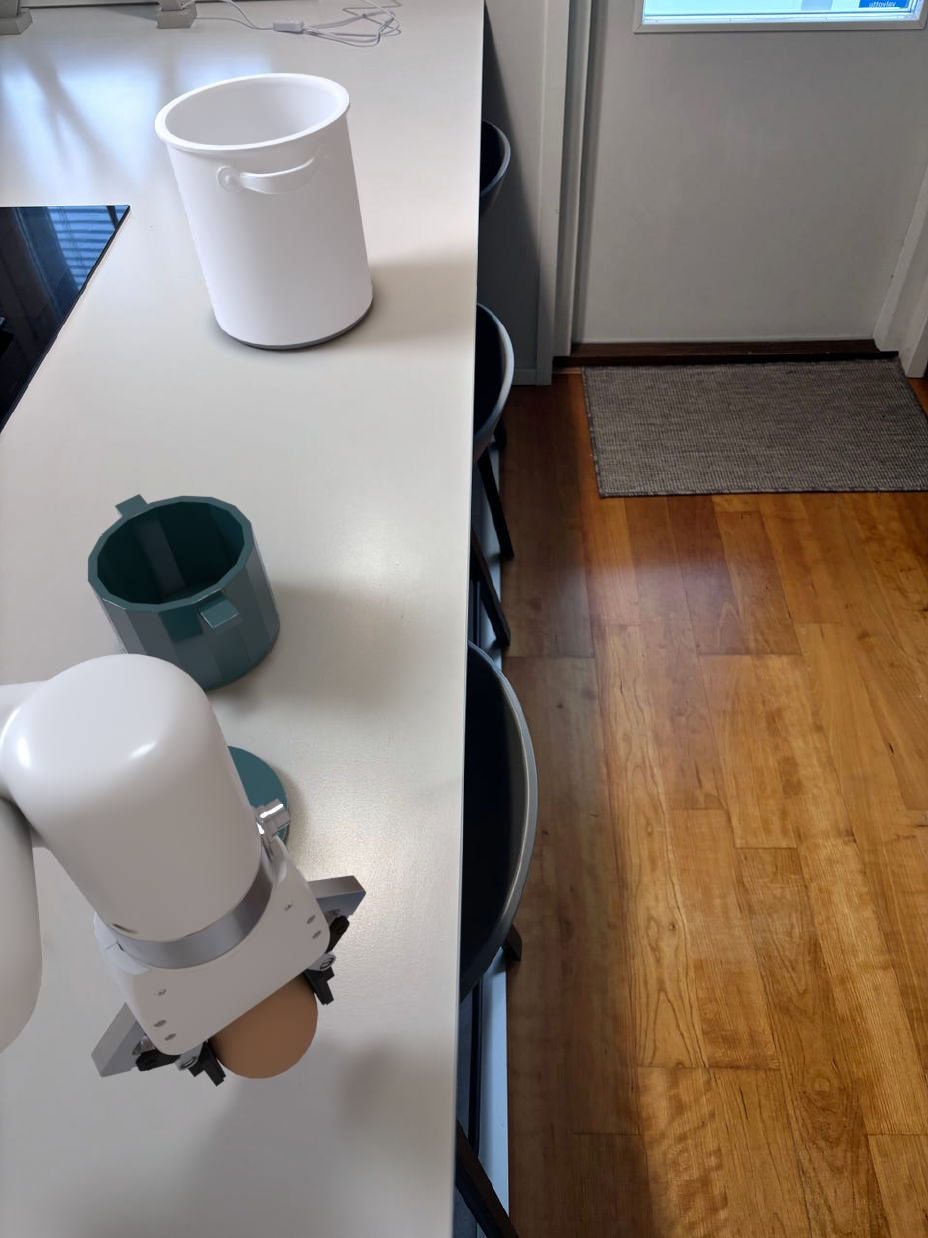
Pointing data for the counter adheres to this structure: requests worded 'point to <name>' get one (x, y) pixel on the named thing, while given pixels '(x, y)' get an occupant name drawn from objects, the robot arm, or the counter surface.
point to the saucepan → (186, 586)
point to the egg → (269, 1033)
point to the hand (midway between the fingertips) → (263, 1021)
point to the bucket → (272, 205)
